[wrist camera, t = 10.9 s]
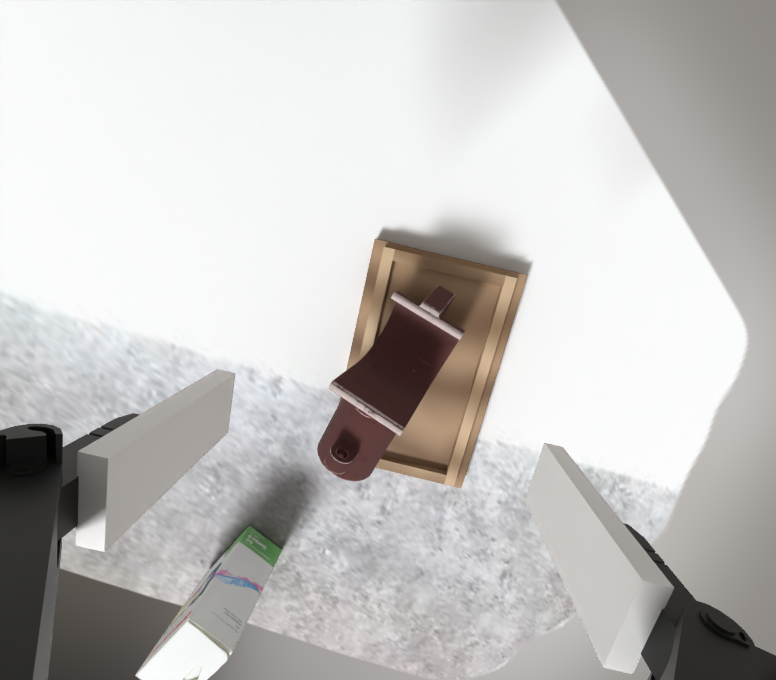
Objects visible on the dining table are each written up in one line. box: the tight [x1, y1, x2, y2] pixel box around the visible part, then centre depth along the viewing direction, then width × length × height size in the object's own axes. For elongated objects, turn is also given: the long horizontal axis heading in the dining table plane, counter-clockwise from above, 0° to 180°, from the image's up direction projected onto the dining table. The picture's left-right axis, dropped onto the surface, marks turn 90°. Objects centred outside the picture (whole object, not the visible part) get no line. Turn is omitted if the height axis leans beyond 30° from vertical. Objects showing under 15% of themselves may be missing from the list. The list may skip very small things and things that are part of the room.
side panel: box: [339, 239, 527, 488], centre depth 36 cm, size 22×14×2 cm, turn 167°
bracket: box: [317, 285, 465, 481], centre depth 31 cm, size 6×17×10 cm, turn 150°
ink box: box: [136, 526, 282, 680], centre depth 37 cm, size 9×5×12 cm, turn 139°
